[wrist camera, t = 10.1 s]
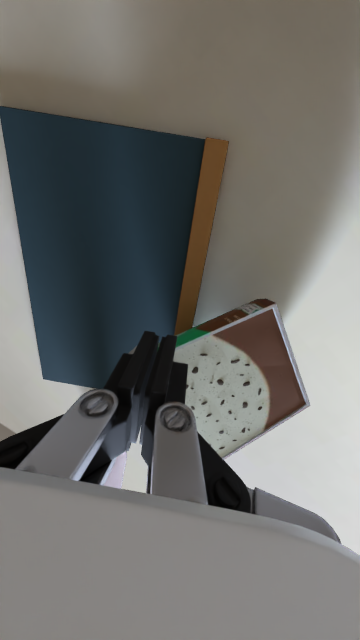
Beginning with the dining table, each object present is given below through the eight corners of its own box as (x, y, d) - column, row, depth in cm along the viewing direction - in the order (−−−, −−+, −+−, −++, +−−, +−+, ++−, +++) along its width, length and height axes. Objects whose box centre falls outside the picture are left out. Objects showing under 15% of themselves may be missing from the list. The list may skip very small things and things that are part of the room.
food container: (226, 264, 17) (118, 325, 18) (268, 280, 12) (109, 369, 12) (270, 371, 22) (186, 417, 23) (314, 417, 17) (201, 477, 17)
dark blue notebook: (3, 108, 14) (-8, 102, 13) (227, 144, 14) (229, 140, 13) (45, 376, 23) (40, 381, 23) (177, 400, 23) (176, 406, 22)
